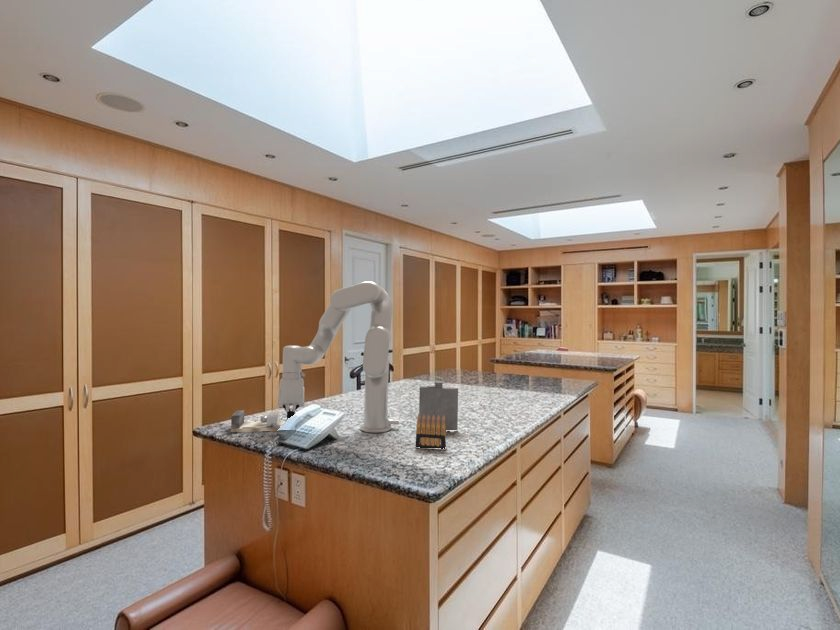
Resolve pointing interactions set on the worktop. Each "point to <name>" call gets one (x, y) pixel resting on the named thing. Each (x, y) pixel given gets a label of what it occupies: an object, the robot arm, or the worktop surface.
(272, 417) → the gauge carriage
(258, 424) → the gauge base
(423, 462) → the worktop surface
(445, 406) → the hip flask
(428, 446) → the ammunition clip
